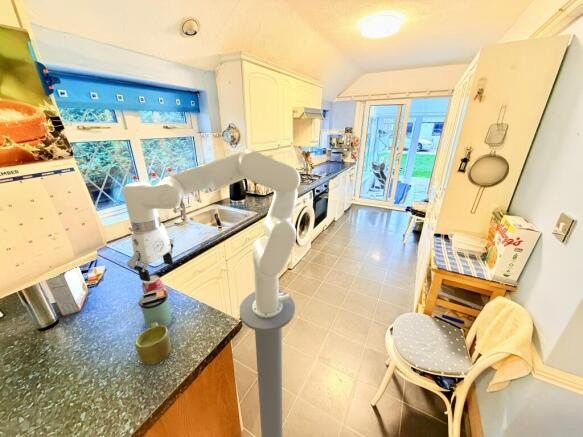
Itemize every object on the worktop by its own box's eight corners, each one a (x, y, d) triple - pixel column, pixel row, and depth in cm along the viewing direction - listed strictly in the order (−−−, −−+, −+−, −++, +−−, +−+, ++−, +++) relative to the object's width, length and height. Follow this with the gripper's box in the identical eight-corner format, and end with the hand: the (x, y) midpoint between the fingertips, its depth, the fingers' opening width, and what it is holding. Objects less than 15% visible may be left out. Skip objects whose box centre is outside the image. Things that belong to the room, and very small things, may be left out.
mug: (172, 361, 73) (157, 335, 71) (140, 376, 72) (123, 350, 69) (183, 335, 85) (170, 312, 82) (155, 347, 84) (141, 325, 81)
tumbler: (172, 310, 95) (166, 285, 91) (173, 326, 88) (167, 299, 83) (146, 318, 91) (138, 292, 87) (145, 336, 84) (137, 308, 79)
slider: (166, 290, 88) (165, 285, 88) (167, 296, 86) (165, 290, 85) (156, 293, 87) (155, 288, 86) (156, 298, 84) (155, 293, 83)
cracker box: (72, 295, 103) (55, 254, 96) (89, 291, 106) (74, 250, 98) (60, 317, 92) (40, 271, 84) (80, 312, 94) (62, 267, 87)
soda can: (144, 303, 99) (137, 280, 94) (160, 294, 104) (155, 272, 100) (152, 310, 95) (146, 286, 91) (169, 301, 101) (164, 277, 96)
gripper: (130, 237, 62) (145, 290, 69) (177, 215, 78) (185, 260, 84) (109, 234, 64) (125, 285, 70) (158, 213, 80) (168, 256, 86)
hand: (157, 271), depth 77 cm, fingers open, 9 cm apart
